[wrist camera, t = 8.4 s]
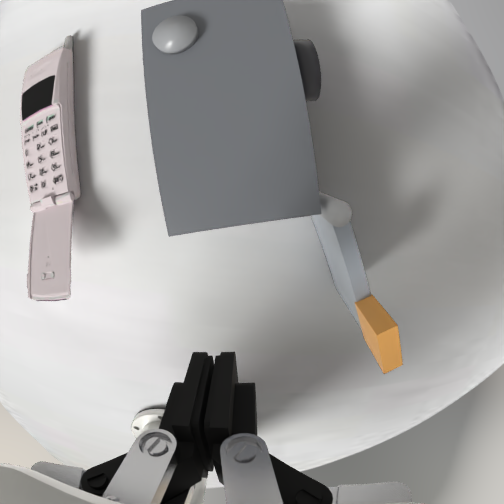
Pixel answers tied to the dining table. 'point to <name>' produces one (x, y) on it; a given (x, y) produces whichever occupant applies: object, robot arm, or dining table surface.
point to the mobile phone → (50, 170)
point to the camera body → (229, 113)
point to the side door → (356, 281)
